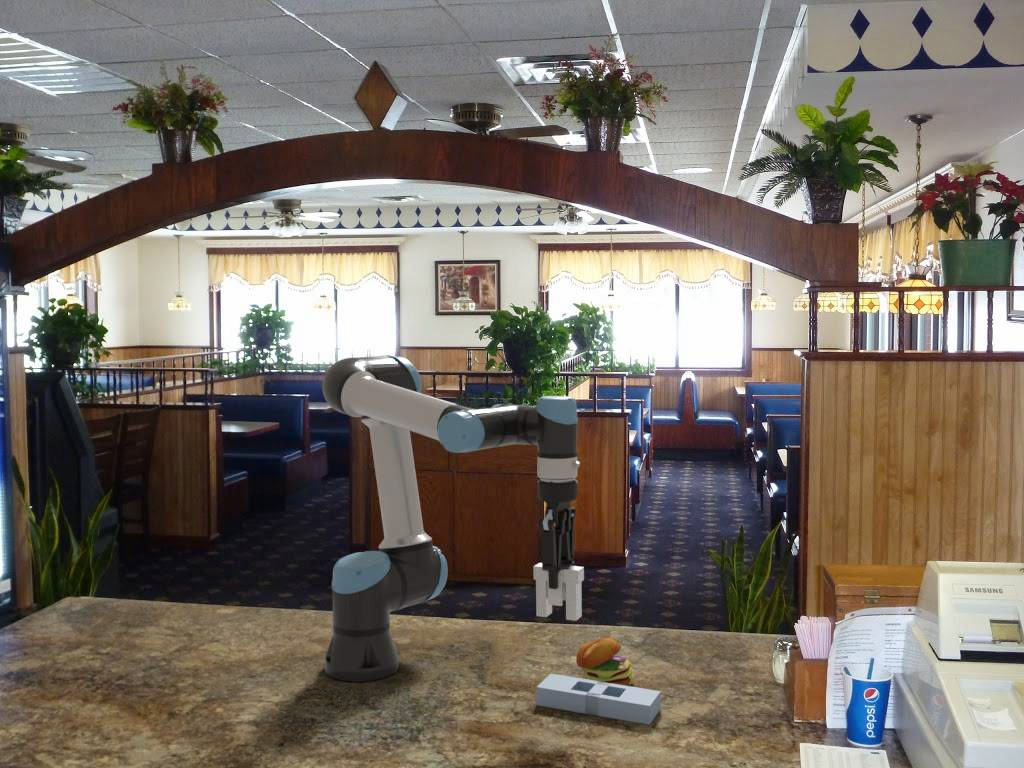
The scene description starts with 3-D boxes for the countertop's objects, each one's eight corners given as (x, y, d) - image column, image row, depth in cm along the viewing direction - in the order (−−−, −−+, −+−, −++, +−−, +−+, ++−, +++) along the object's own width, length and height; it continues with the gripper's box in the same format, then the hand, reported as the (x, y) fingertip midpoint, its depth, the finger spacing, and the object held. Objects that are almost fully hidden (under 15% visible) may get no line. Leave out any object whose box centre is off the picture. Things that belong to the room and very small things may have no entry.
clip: (534, 615, 191) (533, 566, 190) (540, 611, 194) (539, 562, 193) (578, 621, 187) (578, 570, 187) (584, 616, 190) (583, 566, 189)
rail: (536, 704, 191) (536, 686, 190) (550, 690, 197) (550, 673, 197) (649, 724, 182) (649, 706, 182) (660, 709, 189) (660, 691, 189)
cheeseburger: (633, 694, 196) (622, 644, 195) (580, 702, 198) (568, 653, 198) (637, 674, 206) (626, 627, 205) (587, 682, 208) (575, 636, 208)
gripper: (560, 486, 180) (562, 616, 181) (591, 473, 195) (591, 593, 196) (522, 484, 183) (523, 611, 185) (554, 471, 198) (556, 589, 199)
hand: (558, 601), depth 190 cm, fingers closed on clip, 3 cm apart
